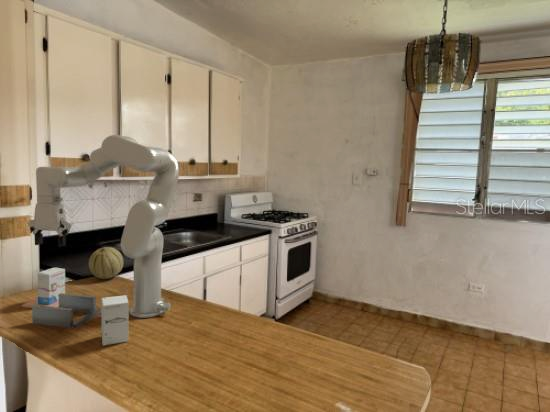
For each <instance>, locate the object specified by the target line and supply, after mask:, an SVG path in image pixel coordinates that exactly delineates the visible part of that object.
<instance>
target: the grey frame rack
mask: <svg viewBox="0 0 550 412" xmlns="http://www.w3.org/2000/svg"><path fill="white" fill-rule="evenodd" d="M58 296H59V307H51V306H42V305H33V306H32V308H31V310H32V311H31V313H32V315H31V316H32V324H34V325H42V326H43V325H44V326H50V327H51V326H52V327H59V328H68V329H69V328H70V329H78V328H79V327H81V326H82V325H84V324H85V323H87V322H88V321H90V320H91V319H94V318H96V316H99V315H101V308H97V300H96V299H97V297H96V296H93V295H86V294H85V295H83V294H75V293H74V294H73V293H66V292H65V293H60V294H58ZM74 313H83V314H86V315H84V316H83V317H81V318H80V319H78V320H76V321H74Z"/></svg>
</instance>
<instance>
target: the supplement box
mask: <svg viewBox="0 0 550 412" xmlns="http://www.w3.org/2000/svg"><path fill="white" fill-rule="evenodd" d="M100 301H101V302H100V306H101V308H100V309H101V313H100V315H101V329H100V330H101V340H102V341H101V343H102V346H103V347H105V346H109V345H113V344H120V343H126V342H129V337H130V336H129V333H130V332H129V330H130V329H129V317H130V316H129V315H130V314H129V309H130V308H129V305H130V304H129V300H128V295H127V294H125V295H118V296H117V295H115V296H107V297H106V296H105V297H101V299H100Z"/></svg>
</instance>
